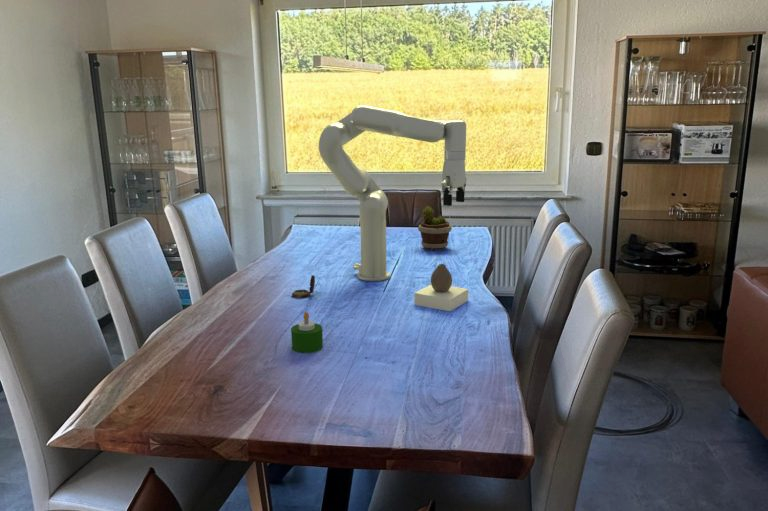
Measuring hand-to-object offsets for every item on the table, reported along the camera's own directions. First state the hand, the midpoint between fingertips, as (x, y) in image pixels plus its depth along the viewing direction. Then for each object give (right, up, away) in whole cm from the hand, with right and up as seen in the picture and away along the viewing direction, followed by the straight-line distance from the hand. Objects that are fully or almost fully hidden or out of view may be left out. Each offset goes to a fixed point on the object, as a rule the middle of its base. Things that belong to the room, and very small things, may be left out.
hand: (453, 203), depth 226 cm
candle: (-46, -44, -57) cm, 85 cm away
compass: (-53, -33, -13) cm, 64 cm away
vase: (-7, -31, -22) cm, 38 cm away
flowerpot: (-3, -16, +55) cm, 58 cm away
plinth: (-6, -34, -21) cm, 41 cm away
